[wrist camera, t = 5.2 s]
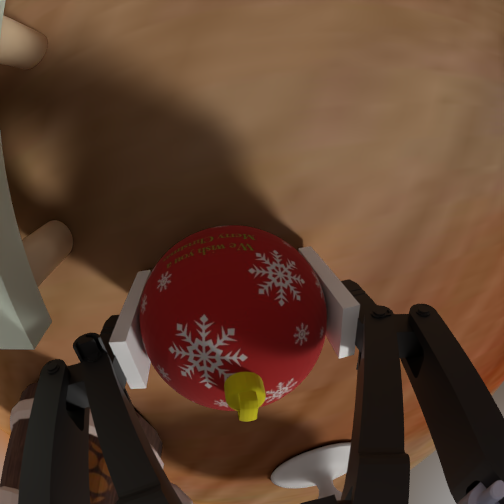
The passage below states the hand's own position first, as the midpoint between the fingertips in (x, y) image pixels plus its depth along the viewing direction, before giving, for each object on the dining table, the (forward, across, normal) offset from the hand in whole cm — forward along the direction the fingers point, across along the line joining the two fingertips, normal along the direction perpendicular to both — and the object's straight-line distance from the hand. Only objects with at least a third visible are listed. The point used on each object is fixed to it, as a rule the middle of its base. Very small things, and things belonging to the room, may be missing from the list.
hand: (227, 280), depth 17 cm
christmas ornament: (+1, 0, 0) cm, 1 cm away
